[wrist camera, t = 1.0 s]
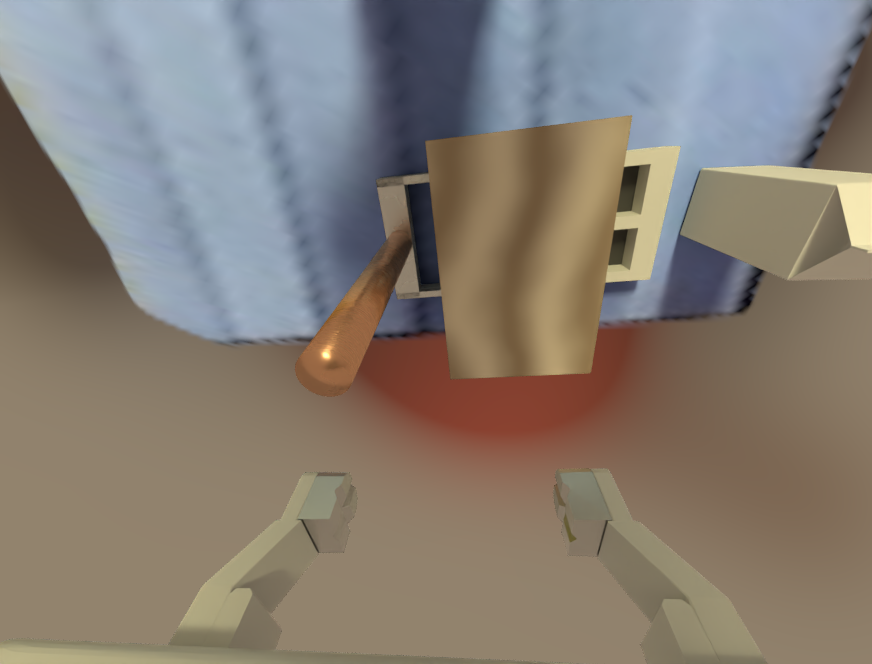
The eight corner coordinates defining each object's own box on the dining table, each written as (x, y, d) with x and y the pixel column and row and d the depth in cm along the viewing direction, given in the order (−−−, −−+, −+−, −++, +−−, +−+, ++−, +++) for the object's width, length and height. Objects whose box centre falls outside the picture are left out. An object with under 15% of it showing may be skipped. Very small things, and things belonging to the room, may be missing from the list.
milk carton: (741, 232, 38) (950, 301, 22) (678, 234, 39) (836, 302, 23) (770, 165, 35) (1045, 186, 18) (699, 167, 35) (906, 191, 19)
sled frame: (562, 157, 35) (774, 189, 12) (552, 280, 42) (672, 459, 19) (380, 177, 38) (242, 241, 14) (400, 291, 45) (332, 464, 21)
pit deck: (666, 145, 35) (680, 146, 32) (639, 272, 42) (649, 279, 39) (568, 157, 36) (575, 158, 33) (558, 278, 43) (563, 285, 40)
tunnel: (561, 125, 34) (632, 115, 20) (549, 299, 44) (590, 373, 30) (438, 141, 36) (425, 140, 22) (453, 306, 46) (450, 379, 32)
